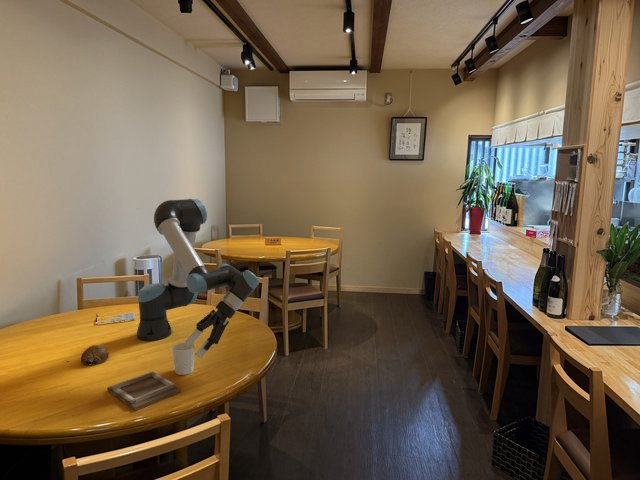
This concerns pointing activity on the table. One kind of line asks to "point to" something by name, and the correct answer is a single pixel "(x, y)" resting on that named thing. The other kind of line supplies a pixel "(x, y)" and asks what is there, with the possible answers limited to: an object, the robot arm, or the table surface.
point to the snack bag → (127, 317)
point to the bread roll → (94, 355)
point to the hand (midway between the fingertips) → (192, 350)
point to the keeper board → (143, 390)
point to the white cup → (183, 358)
